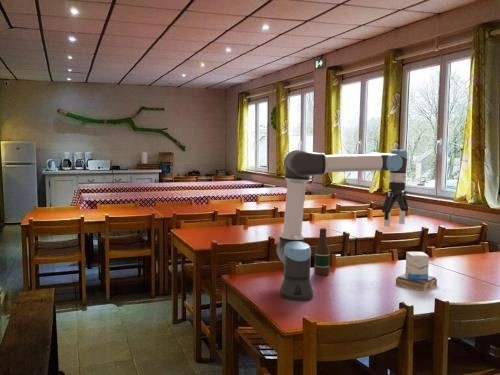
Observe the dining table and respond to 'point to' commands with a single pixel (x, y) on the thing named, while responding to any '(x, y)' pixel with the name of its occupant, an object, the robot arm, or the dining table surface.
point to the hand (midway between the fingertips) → (394, 225)
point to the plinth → (416, 282)
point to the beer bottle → (322, 255)
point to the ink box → (417, 265)
